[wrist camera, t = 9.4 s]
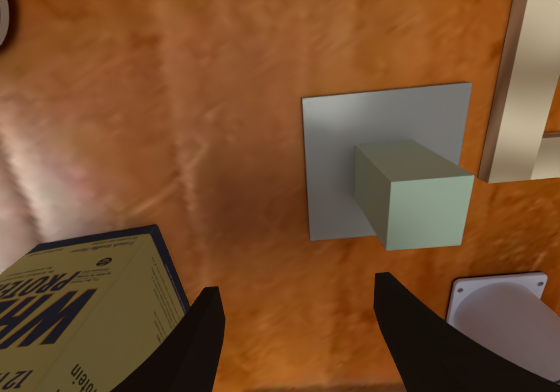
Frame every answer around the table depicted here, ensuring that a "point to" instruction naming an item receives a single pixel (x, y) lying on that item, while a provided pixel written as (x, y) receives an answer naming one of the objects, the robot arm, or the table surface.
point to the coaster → (367, 130)
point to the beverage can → (4, 19)
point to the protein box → (86, 311)
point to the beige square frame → (525, 97)
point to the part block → (411, 194)
